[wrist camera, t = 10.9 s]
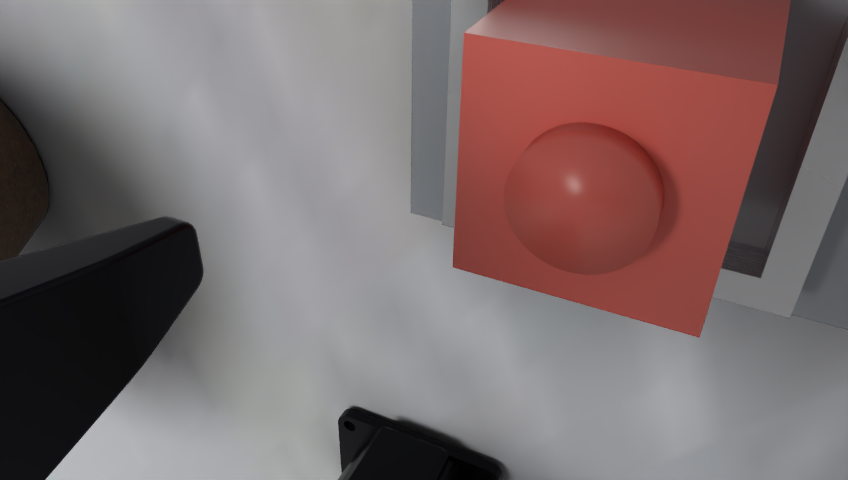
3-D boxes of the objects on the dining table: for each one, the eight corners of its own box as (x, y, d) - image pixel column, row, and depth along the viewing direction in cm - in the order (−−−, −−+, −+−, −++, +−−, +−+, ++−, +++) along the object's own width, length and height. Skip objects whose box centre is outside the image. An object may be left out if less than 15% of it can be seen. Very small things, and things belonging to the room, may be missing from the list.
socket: (792, 286, 16) (789, 318, 16) (460, 202, 19) (442, 224, 18) (946, -105, 12) (955, -93, 11) (480, -144, 14) (457, -136, 14)
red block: (729, 198, 16) (694, 360, 12) (533, 154, 17) (439, 284, 13) (792, -11, 13) (775, 101, 9) (555, -40, 15) (448, 45, 11)
